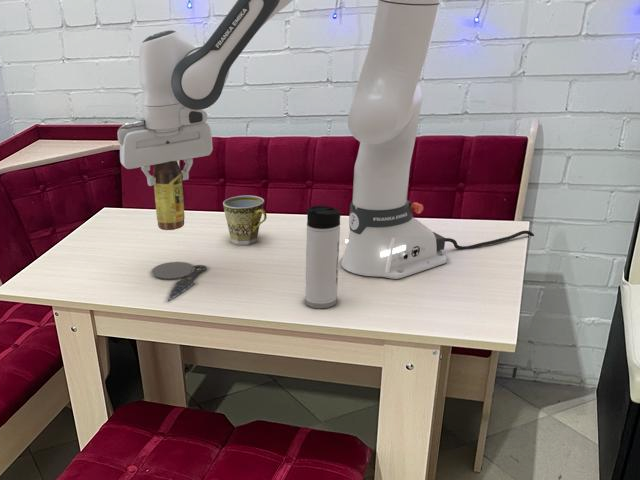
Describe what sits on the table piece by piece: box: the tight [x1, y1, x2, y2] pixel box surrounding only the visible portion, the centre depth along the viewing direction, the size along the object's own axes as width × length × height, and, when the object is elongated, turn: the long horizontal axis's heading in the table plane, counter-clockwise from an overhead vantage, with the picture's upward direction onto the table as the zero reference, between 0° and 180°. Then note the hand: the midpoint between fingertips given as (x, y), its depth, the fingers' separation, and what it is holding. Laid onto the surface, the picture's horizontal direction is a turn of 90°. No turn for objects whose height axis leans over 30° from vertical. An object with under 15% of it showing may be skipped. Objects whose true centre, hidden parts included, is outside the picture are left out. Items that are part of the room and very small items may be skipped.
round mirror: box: [151, 261, 195, 281], centre depth 174 cm, size 10×10×1 cm
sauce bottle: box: [152, 140, 186, 231], centre depth 164 cm, size 7×6×20 cm
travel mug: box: [304, 205, 341, 309], centre depth 147 cm, size 6×7×20 cm
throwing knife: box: [167, 264, 208, 302], centre depth 168 cm, size 4×20×1 cm, turn 154°
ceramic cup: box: [222, 195, 267, 246], centre depth 184 cm, size 13×10×10 cm
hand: (168, 182), depth 164 cm, fingers closed on sauce bottle, 6 cm apart
